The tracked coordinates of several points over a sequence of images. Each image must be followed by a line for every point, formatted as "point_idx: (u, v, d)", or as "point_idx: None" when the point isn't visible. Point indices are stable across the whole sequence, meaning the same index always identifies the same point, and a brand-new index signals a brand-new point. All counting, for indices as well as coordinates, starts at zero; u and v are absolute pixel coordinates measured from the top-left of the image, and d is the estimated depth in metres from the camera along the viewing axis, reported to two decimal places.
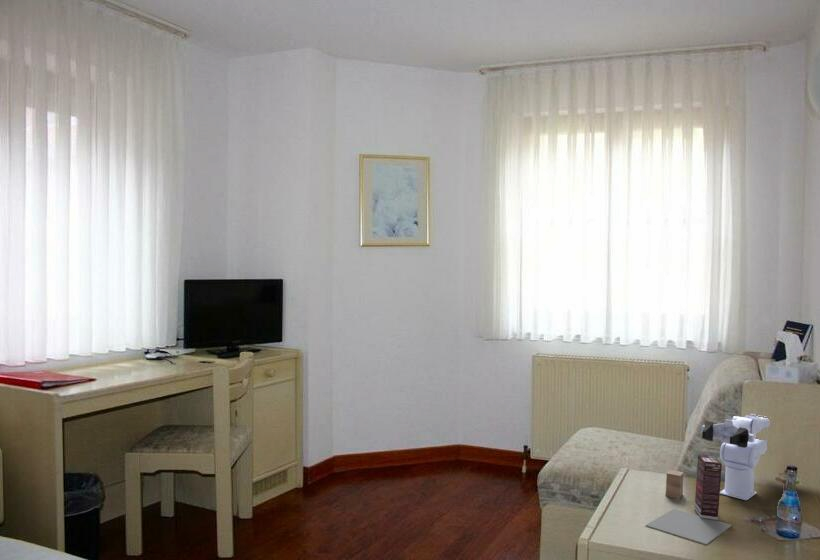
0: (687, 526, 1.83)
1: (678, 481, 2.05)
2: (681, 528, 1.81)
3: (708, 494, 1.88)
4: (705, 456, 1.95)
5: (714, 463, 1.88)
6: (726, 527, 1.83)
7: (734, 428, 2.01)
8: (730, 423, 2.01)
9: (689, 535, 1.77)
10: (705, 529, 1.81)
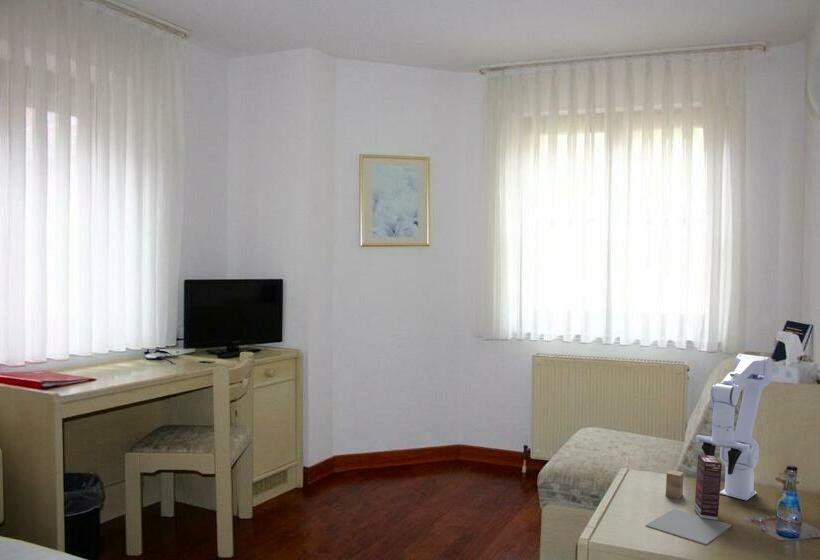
0: (687, 526, 1.83)
1: (678, 481, 2.05)
2: (681, 528, 1.81)
3: (708, 494, 1.88)
4: (705, 456, 1.95)
5: (714, 463, 1.88)
6: (726, 527, 1.83)
7: None
8: (720, 445, 1.96)
9: (689, 535, 1.77)
10: (705, 529, 1.81)
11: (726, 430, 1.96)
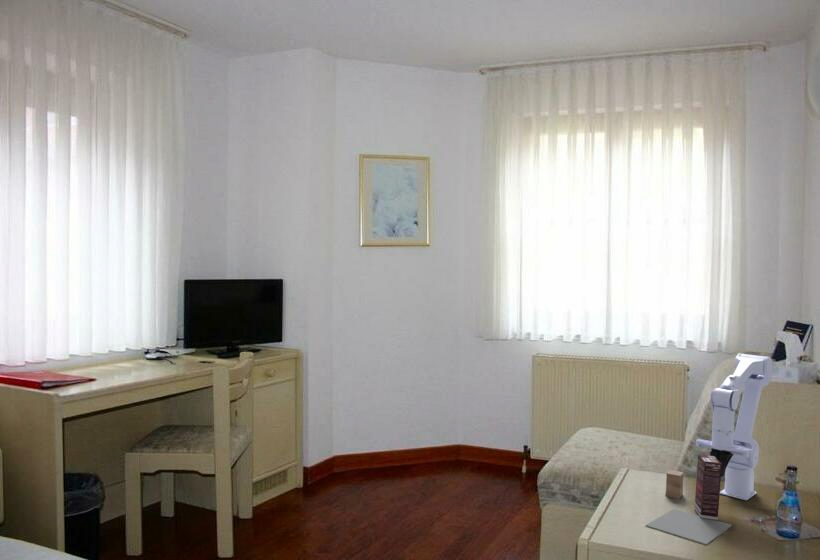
0: (687, 526, 1.83)
1: (678, 481, 2.05)
2: (681, 528, 1.81)
3: (708, 494, 1.88)
4: (705, 456, 1.95)
5: (714, 463, 1.88)
6: (726, 527, 1.83)
7: None
8: (720, 449, 1.96)
9: (689, 535, 1.77)
10: (705, 529, 1.81)
11: (726, 435, 1.96)
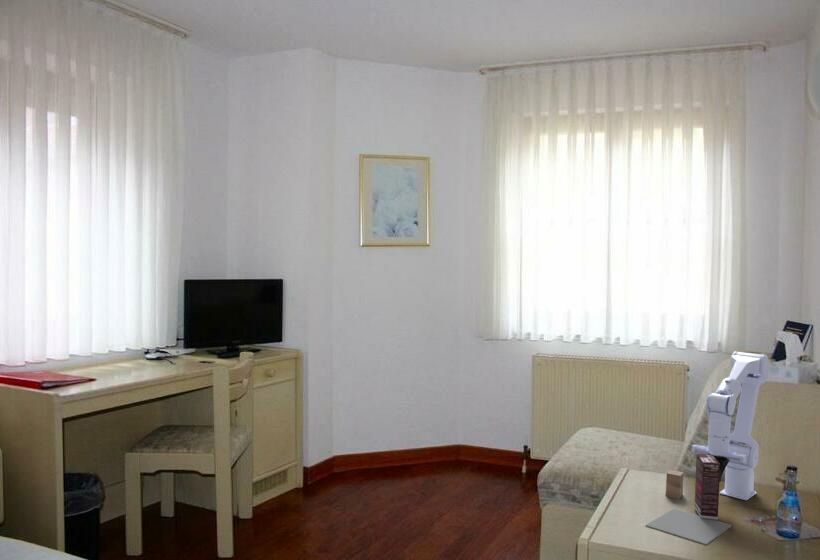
0: (687, 526, 1.83)
1: (678, 481, 2.05)
2: (681, 528, 1.81)
3: (707, 494, 1.88)
4: (703, 456, 1.94)
5: (712, 463, 1.88)
6: (726, 527, 1.83)
7: None
8: None
9: (689, 535, 1.77)
10: (705, 529, 1.81)
11: (722, 440, 1.94)
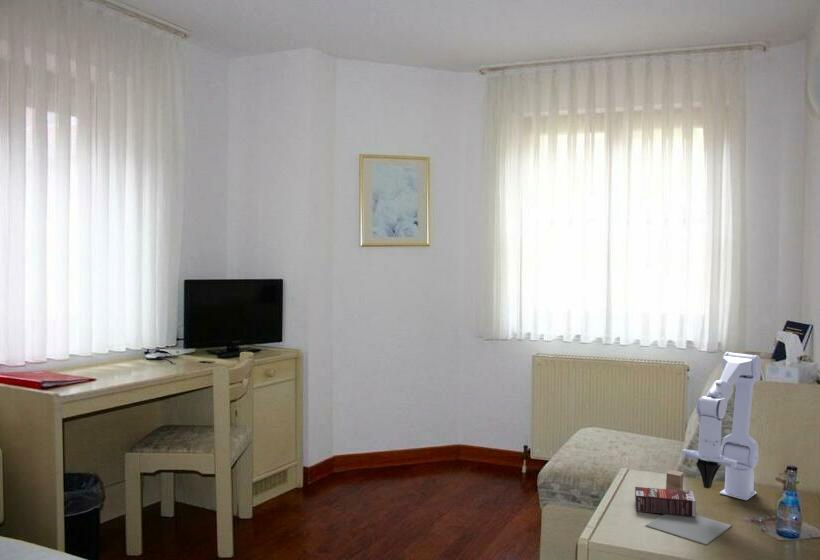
0: (687, 526, 1.83)
1: (678, 481, 2.05)
2: (681, 528, 1.81)
3: (669, 509, 1.91)
4: None
5: (636, 502, 1.94)
6: (726, 527, 1.83)
7: None
8: None
9: (689, 535, 1.77)
10: (705, 529, 1.81)
11: (713, 445, 1.89)
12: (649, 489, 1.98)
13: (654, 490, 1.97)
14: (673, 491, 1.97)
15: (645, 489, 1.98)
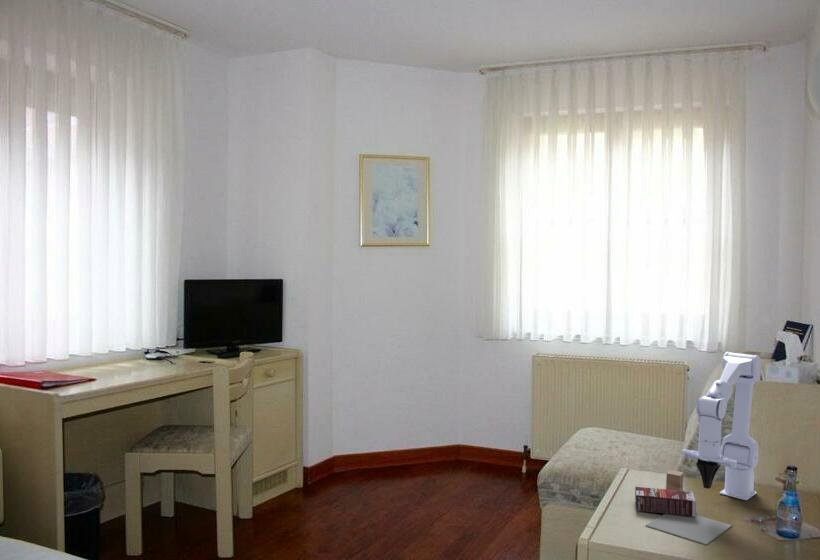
0: (687, 526, 1.83)
1: (678, 481, 2.05)
2: (681, 528, 1.81)
3: (669, 508, 1.91)
4: None
5: (637, 501, 1.94)
6: (726, 527, 1.83)
7: None
8: None
9: (689, 535, 1.77)
10: (705, 529, 1.81)
11: (713, 445, 1.89)
12: (649, 489, 1.99)
13: (654, 490, 1.97)
14: (673, 491, 1.97)
15: (645, 489, 1.98)
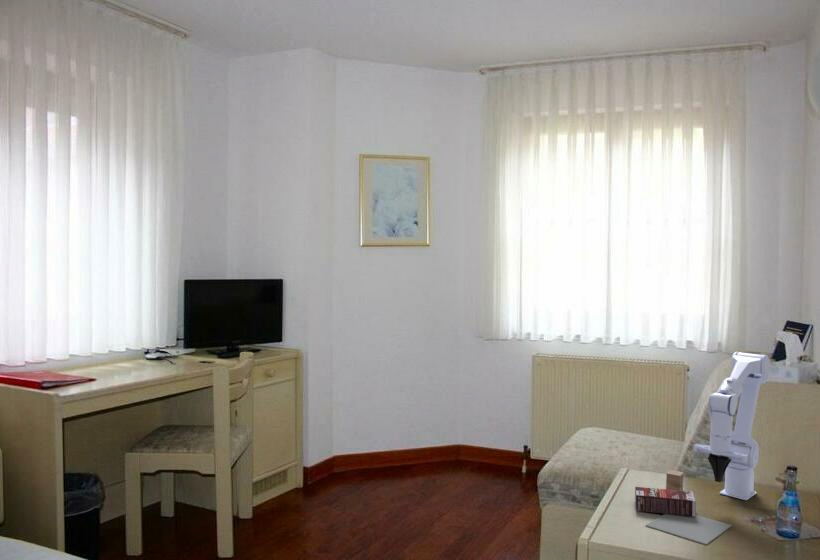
0: (687, 526, 1.83)
1: (678, 481, 2.05)
2: (681, 528, 1.81)
3: (669, 508, 1.91)
4: None
5: (637, 501, 1.94)
6: (726, 527, 1.83)
7: None
8: (718, 454, 1.95)
9: (689, 535, 1.77)
10: (705, 529, 1.81)
11: (724, 440, 1.95)
12: (649, 489, 1.99)
13: (654, 490, 1.97)
14: (673, 491, 1.97)
15: (645, 489, 1.98)
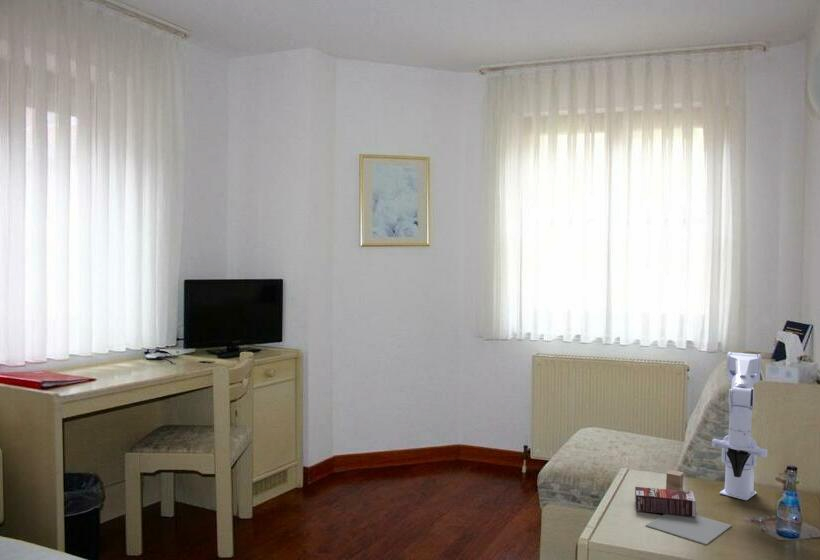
0: (687, 526, 1.83)
1: (678, 481, 2.05)
2: (681, 528, 1.81)
3: (669, 508, 1.91)
4: None
5: (637, 501, 1.94)
6: (726, 527, 1.83)
7: None
8: (737, 449, 1.92)
9: (689, 535, 1.77)
10: (705, 529, 1.81)
11: (743, 434, 1.92)
12: (649, 489, 1.99)
13: (654, 490, 1.97)
14: (673, 491, 1.97)
15: (645, 489, 1.98)
